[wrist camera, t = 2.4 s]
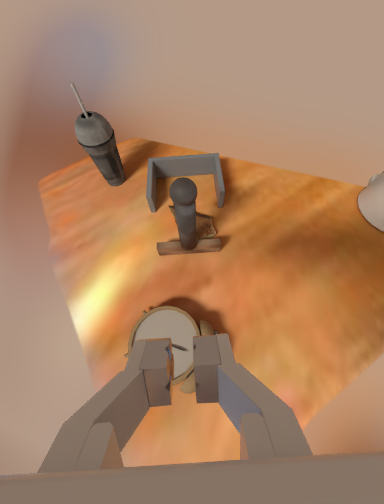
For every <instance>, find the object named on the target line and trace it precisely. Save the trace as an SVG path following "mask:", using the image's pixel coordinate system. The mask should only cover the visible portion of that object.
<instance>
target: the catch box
mask: <svg viewBox="0 0 384 504" xmlns="http://www.w3.org/2000/svg"><path fill="white" fill-rule="evenodd" d="M205 174H213V175H214V182H215V189H216V195H217V202H218V208H219V207H223V202H224V195H225V188H224V182H223V177H222V171H221V165H220V159H219V154H218V153H213V154H199V155H186V156H172V157H159V158H148V174H147V193H146V198H147V201H148V204H149V207H150V209H151V212H156V187H157V178H164V177H177V176H191V175H205Z"/></svg>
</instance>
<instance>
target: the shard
mask: <svg viewBox="0 0 384 504" xmlns="http://www.w3.org/2000/svg"><path fill="white" fill-rule="evenodd" d="M169 208H170V210H171V212H172V214H173V216H174V218H175V222H176V224H177V220H176V214H175V208H174V207H173V206H169ZM177 226H178V225H177ZM196 234H197V240H204V239H209V238H212V237H213V236H214V235H215V234H216V231H215V229H214V227H213V225H212V217H209V216H206V215H203V214H199V213H196Z"/></svg>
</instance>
